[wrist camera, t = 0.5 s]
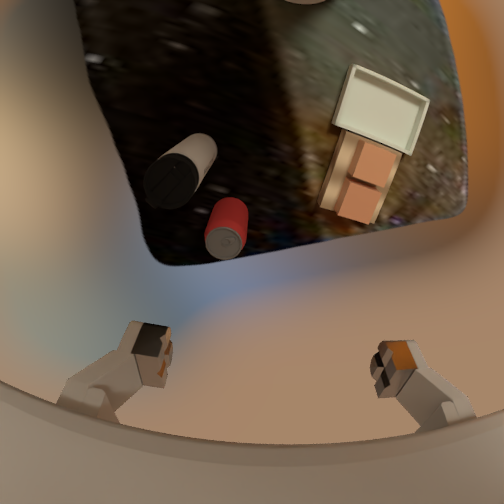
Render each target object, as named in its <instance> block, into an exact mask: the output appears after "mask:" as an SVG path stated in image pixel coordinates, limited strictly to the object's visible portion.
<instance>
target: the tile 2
mask: <svg viewBox="0 0 504 504" xmlns="http://www.w3.org/2000/svg"><path fill="white" fill-rule="evenodd" d="M396 156H397V155H396V154H394V153H392V152H390V151H388V150H386V149H383V148H381V147H378V146H376V145H373V144H371V143H368V142H366V141H363V140H361V139H359V141H358V144H357V147H356V150H355V153H354V156H353V158H352V161H351V164H350V167H349V170H348V172H349V173H350V175H351V176H352V177H355V178H358V179H361V180H364V181H366V182H369V183H372V184H375V185H377V186H380V187H383V188H384V187H385V184H386V182H387V179H388V177H389V174H390V172H391V169H392V166H393V164H394V161H395V158H396Z"/></svg>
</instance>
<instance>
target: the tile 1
mask: <svg viewBox="0 0 504 504" xmlns="http://www.w3.org/2000/svg"><path fill="white" fill-rule="evenodd" d="M381 194H382V193H381V192H380V191H379V190H378V189H377V188H376V187H373V186H370V185H367V184H365V183H362V182H359V181H356V180H353V179H350V178H347V177H346V178H345V180H344V183H343V186H342V188H341V191H340V194H339V196H338V199H337V202H336V204H335V207H334V209H335V211H336V213H337V215H339V216H342V217H346V218H349V219H352V220H356V221H359V222H362V223H365V224H368V225H369V222H370V220H371V218H372V216H373V213H374V211H375V209H376V206H377V204H378V201H379V199H380V197H381Z"/></svg>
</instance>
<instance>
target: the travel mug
mask: <svg viewBox="0 0 504 504" xmlns="http://www.w3.org/2000/svg"><path fill="white" fill-rule="evenodd" d="M216 156H217V146H216V143H215V141H214V140H213V139H212V138H211V137H210V136H208V135H206V134H203V133H195V134H192V135H190V136H189V137H187V138H186V139H184V140H183V141H182V142H180V143H179V144H177V145H176V146H175V147H173V148H172V149H170V150H169V151H168V152H166V153H165V154H163V155H162V156H161V157H160V158H158V159H157V160H156V161H155V162H154V163H152V164H151V165H150V166H149V168H148V169H147V171H146V173H145V176H144V181H143V186H144V191H145V193H146V195H147V198H146V199H145V200H146V201H147V202H148V203H149V204H150V205H151V206H152V207H153V208H154V209H156V207H157V206H158V207H160V208H164V209H176V208H179V207H181V206H183V205H184V204H186V203H187V202H188V201H189V200H190V198H191V197H192V195H193V194H194V192H195V191H196V189H197V188H198V186H199V185H200V183H201V181H202V180H203V178H204V176H205V175H206V173H207V171H208V170H209V168H210V167H211V165H212V163H213V162H214V160H215V158H216Z"/></svg>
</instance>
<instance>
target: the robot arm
mask: <svg viewBox="0 0 504 504" xmlns="http://www.w3.org/2000/svg"><path fill="white" fill-rule="evenodd" d="M285 1H288V2H292V3H297V4H315V3H320V2H323V1H325V0H285ZM170 337H171V329H170V327H167V326H161V325H155V324H150V323H142V322H137V321H131V322H130V323H129V325H128V327H127V329H126V331H125V333H124V336H123V338H122V340H121V342H120V345H119V347H118V349H117V351H115V350H113V351H111V352H109V353H108V354H106V355H105V356H103V357H102V358H100V359H99V360H97V361H95V362H94V363H92V364H91V365H89V366H88V367H86V368H85V369H83V370H81V371H80V372H78V373H77V374H75V375H73V376H72V377H70V378H69V379H68V380H67V382H66V384H65V386H64V388H63V390H62V393H61V395H60V397H59V399H58V401H57V403H56V404H54V403H52V402H49V401H46V400H44V399H41V398H39V397H36V396H34V395H31V394H29V393H27V392H24V391H22V390H19V389H17V388H15V387H13V386H11V385H8V384H7V383H4V382H2V381H0V504H504V409H503V410H500V411H497V412H494V413H491V414H488V415H485V416H482V417H478V418H477V417H476V415H475V413H474V410H473V408H472V406H471V403H470V401H469V399H468V397H467V396H466V395H465V394H463V393H462V392H461V391H460V390H458V389H457V388H456V387H455V386H453V385H452V384H451V383H450V382H448V381H447V380H446V379H445V378H443V377H442V376H441V375H440V374H438V373H437V372H436V371H434V370H433V369H432V368H428V366H427V364H426V362H425V360H424V357H423V355H422V353H421V351H420V349H419V347H418V345H417V343H416V341H414V340H403V341H402V340H398V341H382V342H381V343H380V344H379V346H378V350H379V352H377V353H376V354H375V355H374V356H373V358H372V360H371V364H370V372H371V375H372V377H373V378H374V379H375V380H376V383H375V385H374V386H375V389H376V392H377V396H378V398H389V397H396V399H397V400H398V401H399V402H400V403H401V405H402V406H403V407H404V408H405V409H406V410H407V411H408V412H409V413H410V414H411V416H412V417H413V418H414V419H415V420H416V421H417V422H418V423H419V425H420V426H421V427H420V428H419V429H418V430H417V431H416V432H415V433H413V434H407V435H402V436H396V437H389V438H382V439H374V440H365V441H356V442H344V443H331V444H296V445H295V444H294V445H284V444H252V443H237V442H225V441H214V440H206V439H197V438H191V437H183V436H177V435H171V434H166V433H160V432H155V431H150V430H145V429H141V428H136V427H132V426H127V425H123V424H120V423H119V421H118V419H117V417H116V415H115V413H114V412H115V411H116V410H117V409H118V408H119V407H120V406H121V405H123V404H124V402H126V401H127V400H128V399H129V398H130V397H131V396H132V395H134V393H136V392H137V391H138V390H139V389H140V388H141V387H142V385H146V386H152V387H159V388H164V386H165V383H166V379H167V375H168V374H167V368H168V367H169V366H170V364H171V360H172V353H173V347H172V342H171V341H170Z"/></svg>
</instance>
